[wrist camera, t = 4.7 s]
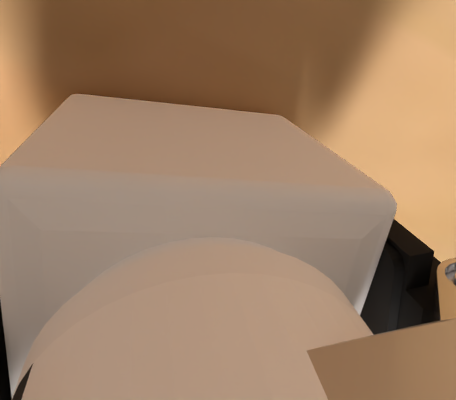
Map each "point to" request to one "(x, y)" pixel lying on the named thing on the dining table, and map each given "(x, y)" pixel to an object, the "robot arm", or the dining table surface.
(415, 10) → the dining table surface
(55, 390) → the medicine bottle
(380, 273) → the robot arm
